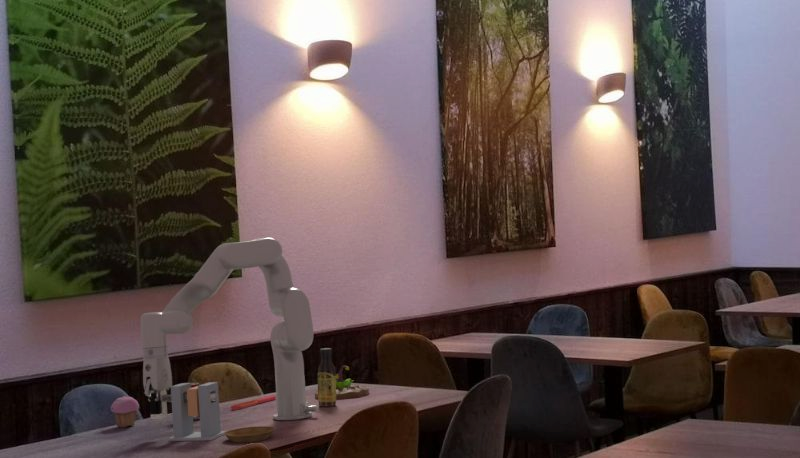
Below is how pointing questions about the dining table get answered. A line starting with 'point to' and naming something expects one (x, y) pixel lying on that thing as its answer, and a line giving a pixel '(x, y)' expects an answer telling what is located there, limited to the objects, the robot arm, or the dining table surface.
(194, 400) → the orange square holed block
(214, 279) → the robot arm
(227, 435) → the plant saucer
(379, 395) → the dining table surface
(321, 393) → the sauce bottle
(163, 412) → the shaft
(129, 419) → the cupcake
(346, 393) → the plant
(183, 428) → the bearing stand
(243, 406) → the red long bar
